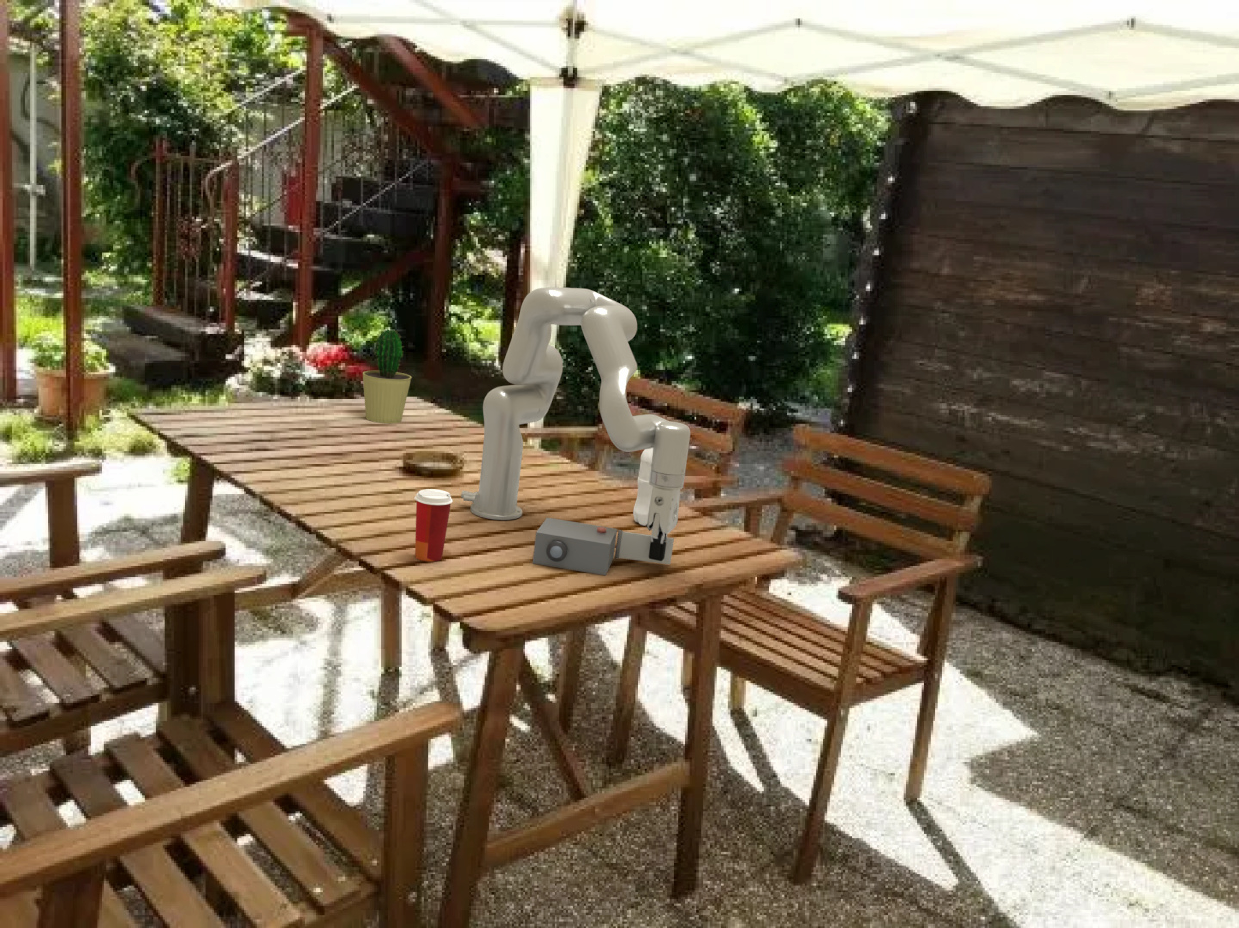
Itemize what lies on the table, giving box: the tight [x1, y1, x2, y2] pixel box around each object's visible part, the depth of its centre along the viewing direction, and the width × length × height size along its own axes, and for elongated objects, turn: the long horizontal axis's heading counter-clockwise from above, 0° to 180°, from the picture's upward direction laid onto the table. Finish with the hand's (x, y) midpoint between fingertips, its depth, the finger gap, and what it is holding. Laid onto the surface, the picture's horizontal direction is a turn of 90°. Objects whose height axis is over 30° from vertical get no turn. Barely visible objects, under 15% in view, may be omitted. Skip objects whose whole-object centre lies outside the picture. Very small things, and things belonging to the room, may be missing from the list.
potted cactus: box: [362, 329, 413, 424], centre depth 343 cm, size 15×15×30 cm
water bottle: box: [632, 448, 653, 527], centre depth 267 cm, size 7×7×25 cm
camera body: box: [532, 517, 618, 576], centre depth 233 cm, size 16×13×8 cm
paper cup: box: [414, 488, 453, 563], centre depth 223 cm, size 8×8×14 cm
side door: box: [614, 529, 675, 565], centre depth 239 cm, size 2×12×6 cm, turn 88°
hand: (656, 558), depth 236 cm, fingers closed
